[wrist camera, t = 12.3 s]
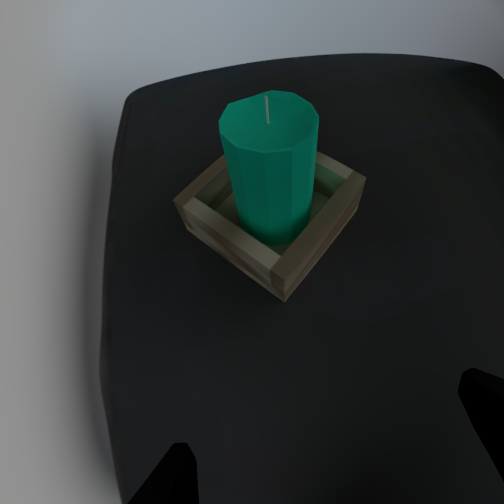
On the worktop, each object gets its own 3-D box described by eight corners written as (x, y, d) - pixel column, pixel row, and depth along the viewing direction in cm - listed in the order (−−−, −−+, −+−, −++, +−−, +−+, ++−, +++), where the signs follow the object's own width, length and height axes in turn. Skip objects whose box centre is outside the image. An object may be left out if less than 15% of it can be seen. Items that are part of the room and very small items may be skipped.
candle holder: (356, 209, 27) (366, 177, 23) (284, 302, 24) (284, 280, 20) (263, 157, 31) (260, 123, 27) (187, 229, 28) (172, 200, 24)
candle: (310, 188, 28) (317, 72, 17) (309, 248, 25) (323, 132, 14) (243, 186, 28) (222, 72, 18) (234, 244, 26) (202, 131, 15)
